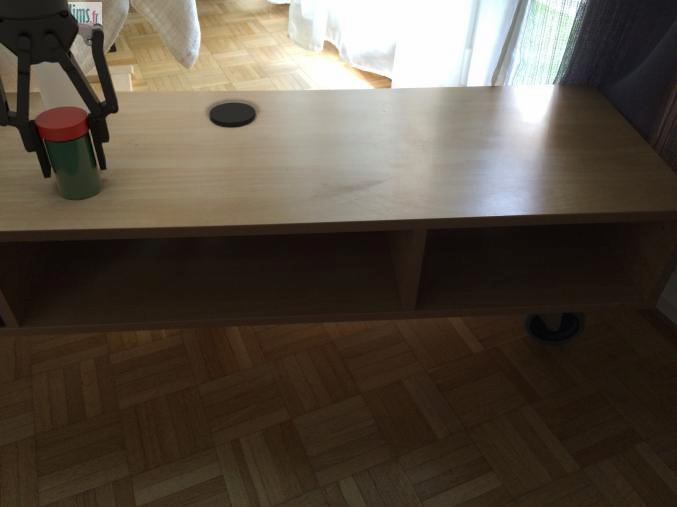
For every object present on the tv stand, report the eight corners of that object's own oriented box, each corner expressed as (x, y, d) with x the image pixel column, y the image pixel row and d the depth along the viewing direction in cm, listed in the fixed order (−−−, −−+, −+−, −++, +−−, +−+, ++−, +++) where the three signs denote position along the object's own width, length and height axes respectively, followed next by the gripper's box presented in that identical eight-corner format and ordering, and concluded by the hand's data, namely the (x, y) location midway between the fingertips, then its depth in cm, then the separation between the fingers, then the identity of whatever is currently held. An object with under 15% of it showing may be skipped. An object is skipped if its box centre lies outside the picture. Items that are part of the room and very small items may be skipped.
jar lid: (90, 138, 72) (86, 125, 71) (36, 144, 70) (32, 131, 69) (90, 116, 76) (87, 104, 75) (40, 121, 75) (36, 109, 74)
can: (103, 116, 94) (85, 38, 87) (76, 134, 89) (54, 54, 82) (68, 109, 96) (48, 32, 88) (40, 126, 91) (15, 46, 83)
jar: (52, 198, 77) (30, 130, 71) (71, 176, 81) (52, 110, 75) (92, 201, 76) (73, 133, 70) (109, 179, 80) (93, 113, 74)
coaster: (204, 125, 93) (204, 120, 92) (216, 105, 98) (216, 100, 98) (249, 128, 92) (249, 124, 92) (259, 108, 98) (259, 103, 97)
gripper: (-92, -13, 57) (-10, 196, 71) (119, -25, 62) (155, 172, 76) (-78, -34, 62) (-4, 164, 77) (115, -44, 67) (150, 144, 82)
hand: (75, 168), depth 76 cm, fingers closed on jar lid, 6 cm apart
